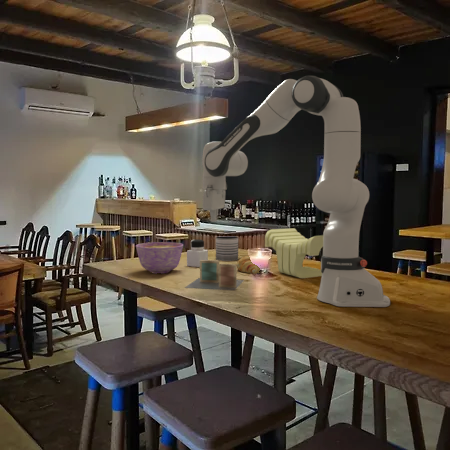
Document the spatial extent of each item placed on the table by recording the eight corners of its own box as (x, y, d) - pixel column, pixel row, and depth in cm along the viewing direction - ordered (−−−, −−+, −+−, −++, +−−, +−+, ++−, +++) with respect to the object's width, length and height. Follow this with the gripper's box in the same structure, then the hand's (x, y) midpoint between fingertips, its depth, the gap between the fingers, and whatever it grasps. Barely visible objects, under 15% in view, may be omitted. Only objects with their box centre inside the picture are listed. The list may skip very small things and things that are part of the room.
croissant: (263, 283, 192) (272, 266, 193) (243, 273, 189) (252, 255, 190) (245, 273, 212) (253, 257, 213) (227, 264, 209) (235, 248, 210)
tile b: (236, 286, 165) (236, 264, 165) (235, 287, 164) (235, 265, 163) (220, 285, 167) (220, 263, 166) (218, 286, 165) (218, 264, 164)
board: (244, 282, 177) (244, 280, 177) (234, 292, 160) (234, 290, 160) (198, 279, 181) (198, 277, 181) (184, 289, 164) (184, 287, 164)
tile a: (219, 281, 174) (219, 260, 173) (218, 282, 172) (218, 261, 172) (201, 280, 176) (201, 259, 175) (200, 281, 174) (200, 260, 173)
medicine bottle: (208, 265, 216) (208, 239, 215) (199, 267, 210) (199, 241, 209) (195, 263, 219) (195, 238, 218) (186, 265, 213) (186, 239, 212)
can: (212, 260, 230) (212, 236, 229) (219, 257, 241) (219, 233, 240) (234, 261, 227) (234, 236, 226) (241, 258, 238) (241, 234, 237)
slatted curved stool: (264, 270, 202) (265, 229, 201) (293, 267, 210) (294, 228, 209) (309, 283, 176) (310, 236, 175) (340, 278, 184) (341, 234, 182)
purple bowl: (129, 270, 202) (129, 243, 201) (172, 266, 212) (172, 241, 211) (145, 278, 185) (145, 249, 184) (191, 273, 195) (191, 246, 194)
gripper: (215, 184, 167) (215, 223, 168) (227, 185, 186) (227, 219, 188) (198, 184, 168) (198, 223, 169) (212, 185, 188) (212, 219, 189)
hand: (214, 221), depth 178 cm, fingers closed
